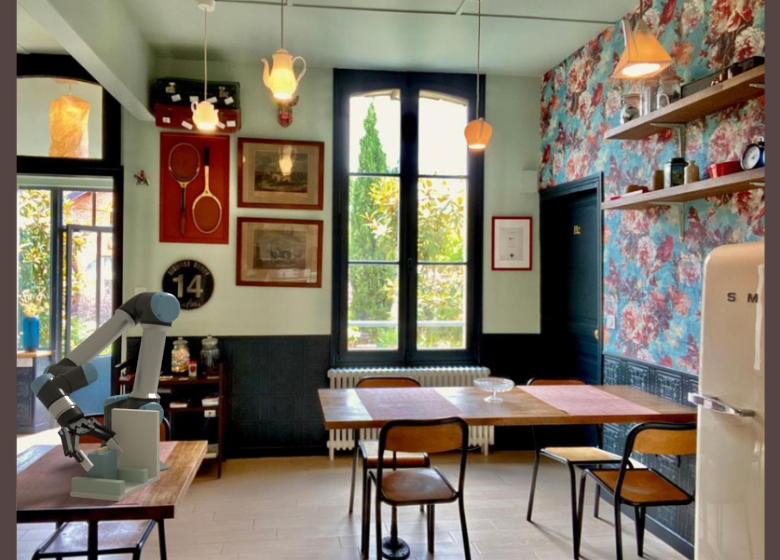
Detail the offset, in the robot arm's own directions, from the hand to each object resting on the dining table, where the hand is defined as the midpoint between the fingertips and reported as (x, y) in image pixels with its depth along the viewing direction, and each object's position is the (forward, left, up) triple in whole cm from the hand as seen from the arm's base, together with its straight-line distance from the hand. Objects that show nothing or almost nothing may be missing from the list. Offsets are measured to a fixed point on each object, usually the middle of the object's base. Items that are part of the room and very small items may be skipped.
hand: (106, 461), depth 180 cm
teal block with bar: (0, -1, -8) cm, 8 cm away
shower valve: (-21, 0, -10) cm, 23 cm away
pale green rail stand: (-3, +2, -9) cm, 10 cm away
